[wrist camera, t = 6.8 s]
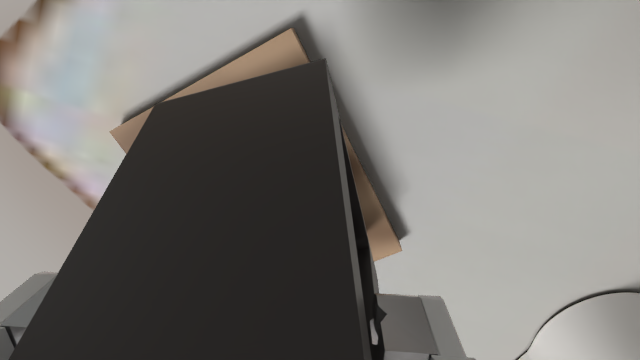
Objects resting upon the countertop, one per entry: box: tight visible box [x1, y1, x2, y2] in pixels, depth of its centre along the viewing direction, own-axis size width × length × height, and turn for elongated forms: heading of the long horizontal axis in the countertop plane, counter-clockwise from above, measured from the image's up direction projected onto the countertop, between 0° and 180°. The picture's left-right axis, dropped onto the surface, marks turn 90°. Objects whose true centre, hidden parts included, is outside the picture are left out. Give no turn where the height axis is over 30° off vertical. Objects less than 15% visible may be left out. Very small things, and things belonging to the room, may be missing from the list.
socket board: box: [109, 28, 402, 261], centre depth 27 cm, size 20×16×6 cm
